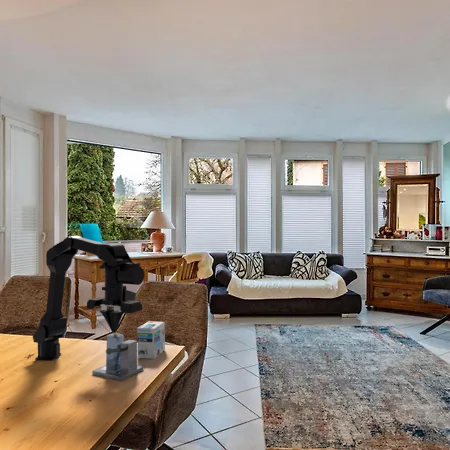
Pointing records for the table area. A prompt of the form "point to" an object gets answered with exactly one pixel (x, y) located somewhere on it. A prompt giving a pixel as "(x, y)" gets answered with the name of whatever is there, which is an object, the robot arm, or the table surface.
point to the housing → (115, 358)
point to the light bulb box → (151, 339)
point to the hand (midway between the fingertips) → (114, 331)
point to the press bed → (122, 362)
